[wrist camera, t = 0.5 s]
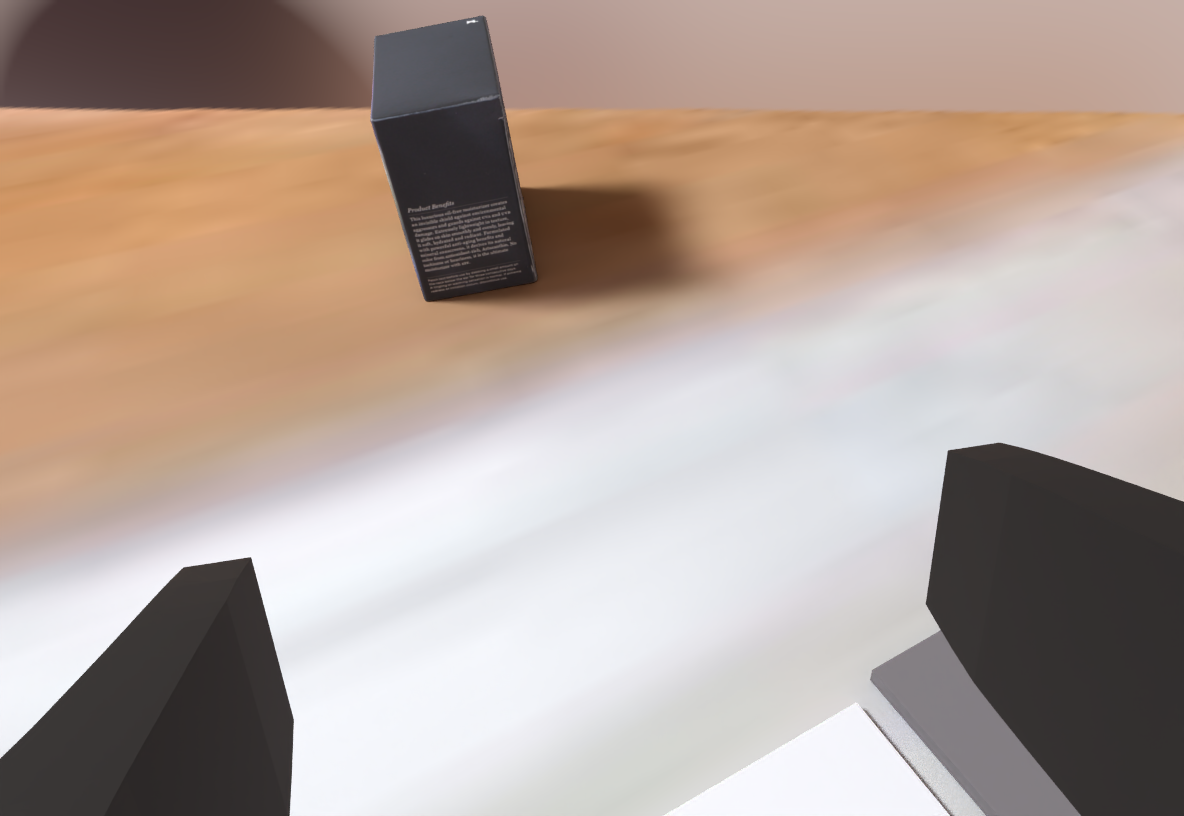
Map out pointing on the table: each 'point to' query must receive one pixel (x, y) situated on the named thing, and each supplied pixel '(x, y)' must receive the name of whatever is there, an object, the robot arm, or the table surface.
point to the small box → (451, 158)
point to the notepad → (823, 778)
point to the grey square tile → (967, 732)
